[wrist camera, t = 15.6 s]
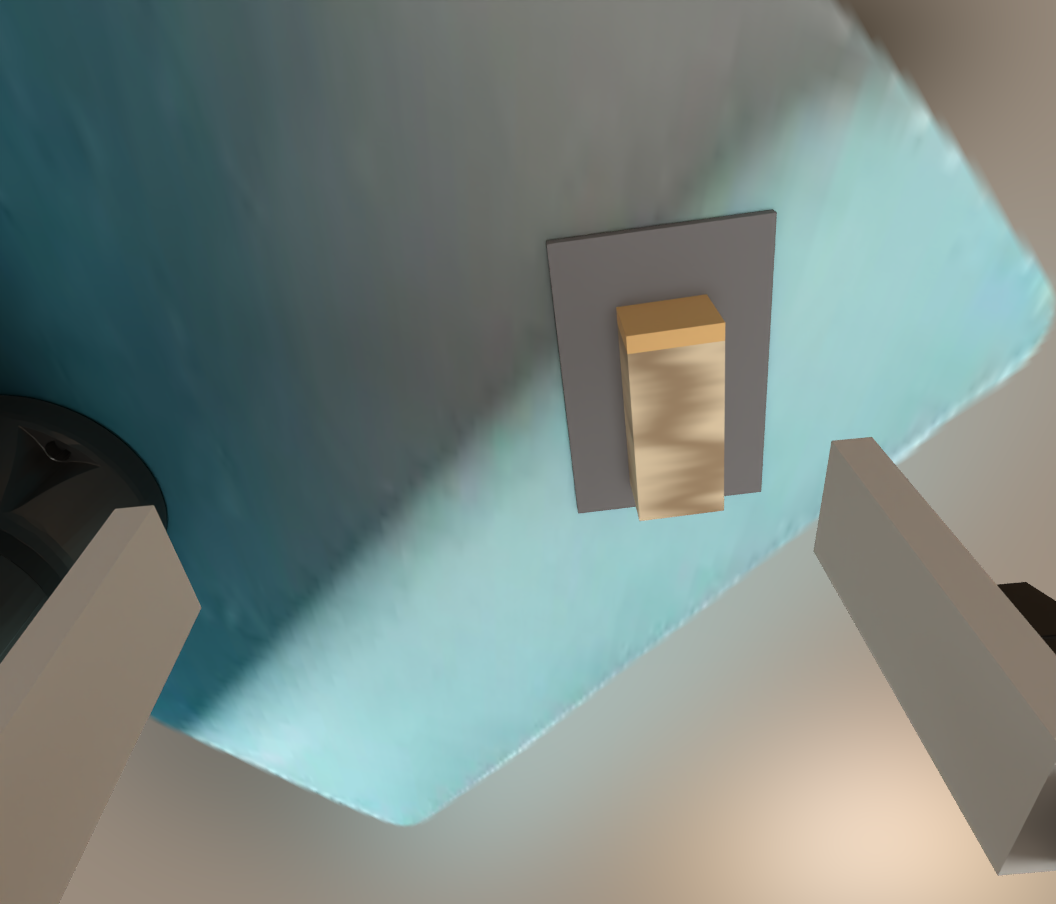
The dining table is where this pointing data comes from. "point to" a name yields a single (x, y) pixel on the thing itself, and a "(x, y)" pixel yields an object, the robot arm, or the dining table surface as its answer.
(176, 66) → the dining table surface
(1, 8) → the dining table surface
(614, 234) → the rubber mat
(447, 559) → the dining table surface
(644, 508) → the maple block
